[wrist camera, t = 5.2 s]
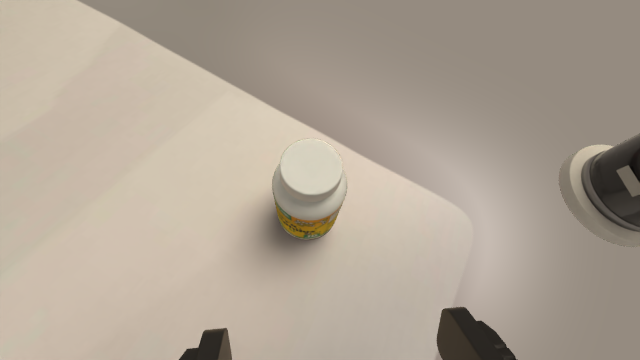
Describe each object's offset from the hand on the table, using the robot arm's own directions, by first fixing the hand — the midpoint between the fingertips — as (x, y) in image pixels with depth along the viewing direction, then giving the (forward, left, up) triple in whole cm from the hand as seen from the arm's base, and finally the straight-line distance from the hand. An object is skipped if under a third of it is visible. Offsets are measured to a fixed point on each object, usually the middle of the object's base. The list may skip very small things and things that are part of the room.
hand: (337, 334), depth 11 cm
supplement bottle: (+3, -9, -14) cm, 17 cm away
